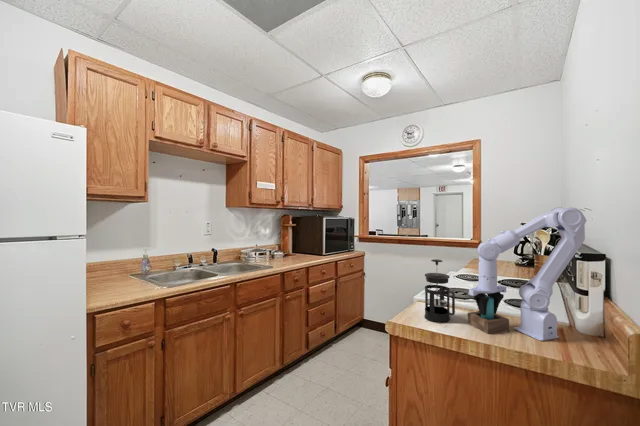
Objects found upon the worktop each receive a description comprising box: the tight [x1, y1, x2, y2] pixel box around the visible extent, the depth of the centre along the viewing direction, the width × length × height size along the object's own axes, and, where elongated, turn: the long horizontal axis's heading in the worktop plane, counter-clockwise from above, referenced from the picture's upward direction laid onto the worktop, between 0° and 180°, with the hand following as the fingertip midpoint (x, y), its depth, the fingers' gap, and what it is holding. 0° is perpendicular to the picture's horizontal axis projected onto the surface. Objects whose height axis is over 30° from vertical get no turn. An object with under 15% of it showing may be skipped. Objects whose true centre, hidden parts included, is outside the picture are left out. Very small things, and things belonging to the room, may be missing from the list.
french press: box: [423, 258, 456, 324], centre depth 109 cm, size 12×9×23 cm
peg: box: [481, 295, 494, 320], centre depth 101 cm, size 4×4×8 cm
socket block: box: [467, 310, 510, 335], centre depth 101 cm, size 9×9×4 cm
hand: (487, 313), depth 101 cm, fingers closed on peg, 4 cm apart
